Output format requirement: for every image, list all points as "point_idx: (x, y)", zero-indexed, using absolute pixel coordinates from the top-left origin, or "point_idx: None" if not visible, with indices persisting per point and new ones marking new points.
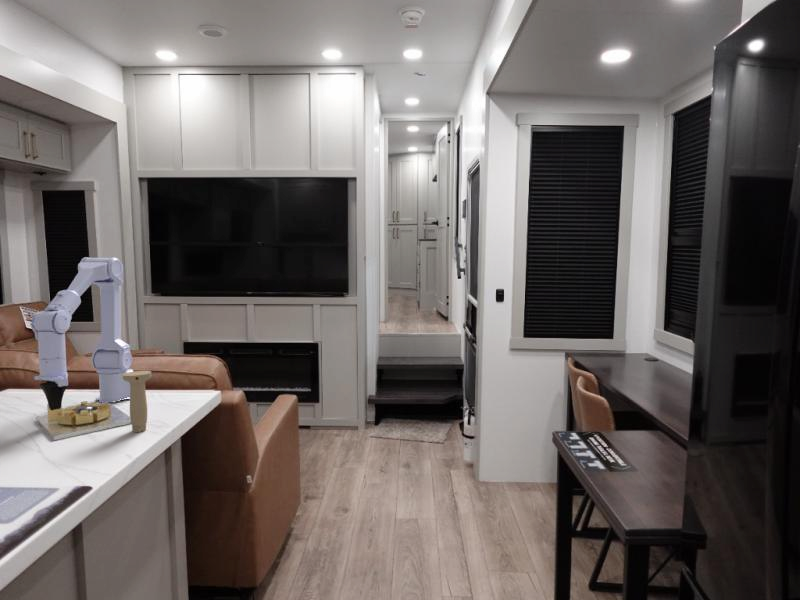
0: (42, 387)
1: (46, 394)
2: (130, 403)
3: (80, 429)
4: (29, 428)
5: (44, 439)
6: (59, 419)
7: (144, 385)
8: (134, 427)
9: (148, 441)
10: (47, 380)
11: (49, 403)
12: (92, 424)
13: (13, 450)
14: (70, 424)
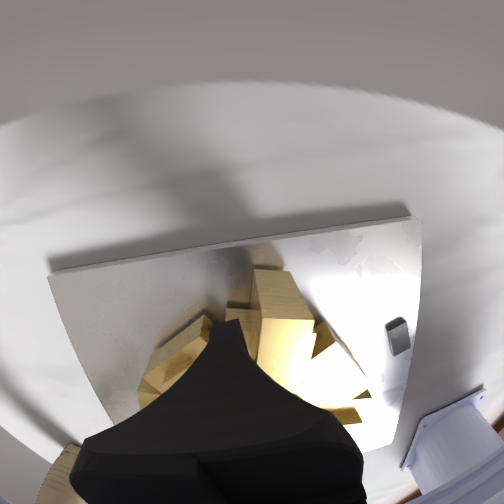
0: (189, 438)
1: (196, 389)
2: (42, 501)
3: (96, 366)
4: (307, 178)
5: (84, 238)
6: (198, 327)
7: None
8: (64, 452)
9: (13, 430)
10: None
11: (205, 346)
12: None
13: (25, 137)
14: (155, 352)
